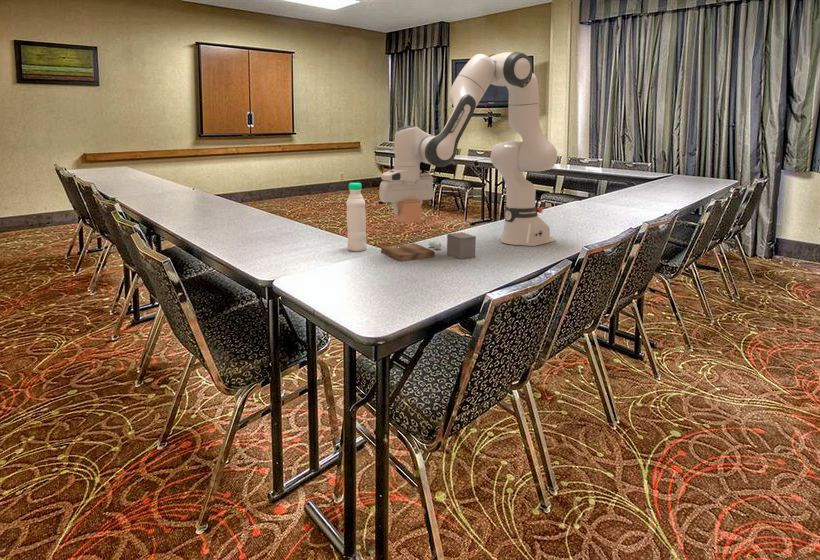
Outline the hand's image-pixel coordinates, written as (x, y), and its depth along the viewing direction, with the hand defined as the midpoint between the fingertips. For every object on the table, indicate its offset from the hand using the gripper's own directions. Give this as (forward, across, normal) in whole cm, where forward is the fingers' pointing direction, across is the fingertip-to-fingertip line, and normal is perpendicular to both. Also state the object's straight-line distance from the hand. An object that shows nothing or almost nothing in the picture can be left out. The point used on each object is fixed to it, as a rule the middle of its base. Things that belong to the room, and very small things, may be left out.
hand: (407, 213), depth 184 cm
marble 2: (+14, -13, -1) cm, 20 cm away
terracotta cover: (+2, 0, 0) cm, 3 cm away
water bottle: (+15, +13, -16) cm, 26 cm away
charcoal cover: (+15, -16, +11) cm, 25 cm away
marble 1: (+14, -13, -5) cm, 20 cm away
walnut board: (+15, 0, 0) cm, 15 cm away
